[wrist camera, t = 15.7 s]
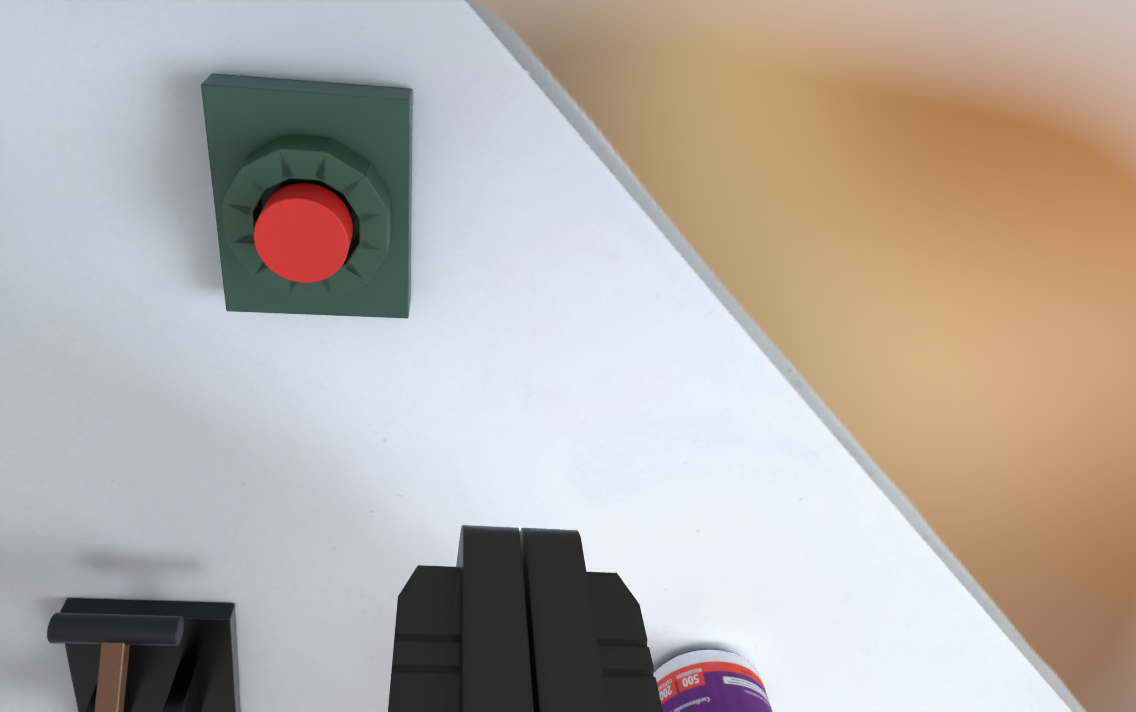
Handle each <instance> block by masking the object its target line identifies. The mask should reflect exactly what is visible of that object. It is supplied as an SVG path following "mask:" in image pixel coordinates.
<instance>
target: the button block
mask: <svg viewBox="0 0 1136 712" xmlns="http://www.w3.org/2000/svg"><path fill="white" fill-rule="evenodd" d="M201 88H202V97H203V106H204V115H205V124H206V133H207V142H208V151H209V159H210V168H211V177H212V186H213V195H214V204H215V213H216V222H217V231H218V240H219V249H220V258H221V267H222V275H223V284H224V293H225V302H226V310H227V311H238V312H263V313H288V314H313V315H337V316H362V317H387V318H408V317H409V309H410V288H411V189H412V89H405V88H392V87H378V86H365V85H352V84H339V83H326V82H312V81H299V80H286V79H273V78H260V77H247V76H233V75H220V74H211V75H210V76H209V77H208V78H207V79H206V80H205V81H204V82H203V83H202V84H201ZM294 183H311V184H316V185H319V186H322V187H324V188H326V189H328V190H330V191H331V192H333V193H334V194H336V195H337V196H338V197H339V198H340V199H341V200H342V201H343V202H344V204H345V205H346V206H347V208H348V210H349V212H350V215H351V218H352V222H353V235H352V239H351V243H350V246H349V250H348V254H347V257H346V260H345V261H344V263H343V265H342V266H341V267H340V269H339V270H338V271H337V272H336V273H334V274H333V275H332V276H330V277H328V278H326V279H323V280H320V281H317V282H308V283H303V282H296V281H291V280H288V279H286V278H283V277H281V276H279V275H278V274H276V273H275V272H273V271H272V270H271V269H270V268H269V267H268V266H266V264H265V263H264V262H263V261H262V259H261V258H260V256H259V254H258V252H257V250H256V247H255V243H254V228H255V225H256V222H257V220H258V218H259V216H260V214H261V212H262V210H263V208H264V206H265V204H266V202H267V201H268V199H269V198H270V197H271V196H272V195H273V193H275V192H276V191H277V190H279V189H280V188H282V187H284V186H287V185H290V184H294Z"/></svg>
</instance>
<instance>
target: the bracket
mask: <svg viewBox="0 0 1136 712" xmlns="http://www.w3.org/2000/svg"><path fill="white" fill-rule="evenodd" d="M60 613H84V614H119V615H153V616H181V617H183V620H184V628H183V635H182V638H181V641H180V643H179V645H177V646H157V645H130V648H129V658H128V668H127V678H126V689H125V699H124V709H123V712H240V694H239V676H238V658H237V640H236V622H235V605H234V604H227V603H195V602H163V601H131V600H100V599H67V600H66V602H65V604H64V605H63V607H62V609H61V611H60ZM65 647H66V652H67V657H68V662H69V667H70V672H71V677H72V682H73V687H74V692H75V697H76V702H77V707H78V712H95V703H96V693H97V683H98V673H99V663H100V653H101V644H72V643H65Z"/></svg>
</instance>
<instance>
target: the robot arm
mask: <svg viewBox="0 0 1136 712" xmlns="http://www.w3.org/2000/svg"><path fill="white" fill-rule="evenodd" d="M388 712H663V708H662V704H661V699H660V695H659V690H658V686H657V681H656V677H654V668H653V663H652V659H651V654H650V650H649V647H647V636H646V632H645V627H644V623H643V618H642V614H641V609H640V605H639V603H638V602H637V600H636V599H635V598H634V596H633V595H632V593H631V592H630V591H629V589H628V588H627V586H626V585H625V584H624V582H623V581H622V580H621V578H620V577H619V575H618V574H617V573H603V572H586V567H585V561H584V555H583V549H582V542H581V537H580V534H579V532H578V531H577V530H559V529H537V528H522V529H521V531H520V532H519V529H518V528H511V527H490V526H469V525H462V527H461V533H460V541H459V549H458V557H457V565H456V567H444V566H419V565H418V566H417V568H416V569H415V571H414V572H413V574H412V576H411V577H410V579H409V580H408V582H407V583H406V585H405V587H404V588H403V590H402V591H401V593H400V594H399V596H398V603H397V615H396V626H395V638H394V649H393V661H392V672H391V684H390V695H389V707H388Z"/></svg>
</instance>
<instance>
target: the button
mask: <svg viewBox="0 0 1136 712" xmlns="http://www.w3.org/2000/svg"><path fill="white" fill-rule="evenodd" d="M352 235H353V222H352V218H351V215H350V212H349V210H348V208H347V206H346V205H345V204H344V202H343V201H342V200H341V199H340V198H339V197H338V196H337V195H336V194H334V193H333V192H331V191H330V190H328V189H326V188H324V187H322V186H319V185H316V184H311V183H294V184H290V185H287V186H284V187H282V188H280V189H279V190H277V191H276V192H275V193H273V195H272V196H271V197H270V198H269V199H268V201H267V202H266V204H265V206H264V208H263V210H262V212H261V214H260V216H259V218H258V220H257V222H256V225H255V228H254V243H255V247H256V250H257V252H258V254H259V256H260V258H261V259H262V261H263V262H264V263H265V264H266V266H268V267H269V268H270V269H271V270H272V271H273V272H275V273H276V274H278V275H279V276H281V277H283V278H286V279H288V280H291V281H296V282H303V283H308V282H317V281H320V280H323V279H326V278H328V277H330V276H332V275H333V274H334V273H336V272H337V271H338V270H339V269H340V267H341V266H342V265H343V263H344V261H345V260H346V257H347V254H348V250H349V246H350V243H351V239H352Z"/></svg>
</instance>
